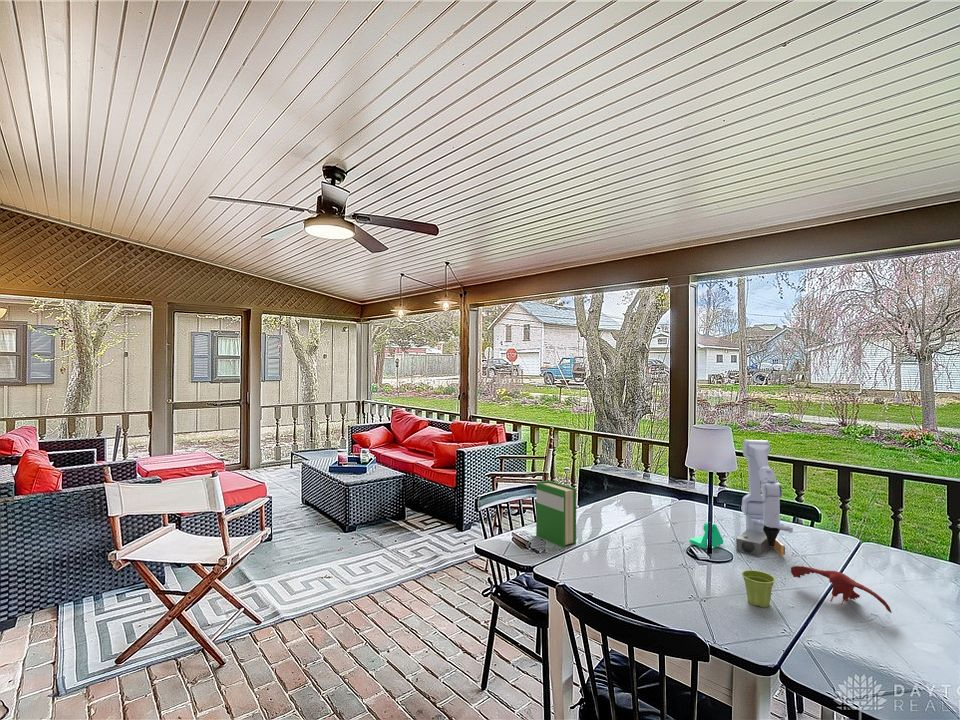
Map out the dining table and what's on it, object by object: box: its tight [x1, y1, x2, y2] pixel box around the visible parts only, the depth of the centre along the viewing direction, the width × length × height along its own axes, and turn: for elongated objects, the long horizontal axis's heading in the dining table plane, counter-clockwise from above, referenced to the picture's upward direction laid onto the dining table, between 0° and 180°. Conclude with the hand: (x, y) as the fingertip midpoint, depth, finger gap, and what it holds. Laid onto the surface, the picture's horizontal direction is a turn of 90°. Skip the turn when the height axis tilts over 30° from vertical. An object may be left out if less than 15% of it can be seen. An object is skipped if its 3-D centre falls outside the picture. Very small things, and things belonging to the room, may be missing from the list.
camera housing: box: [735, 529, 771, 557], centre depth 202 cm, size 17×9×6 cm, turn 135°
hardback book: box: [535, 479, 577, 549], centre depth 211 cm, size 18×7×24 cm, turn 34°
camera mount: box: [689, 521, 724, 549], centre depth 205 cm, size 12×8×10 cm, turn 115°
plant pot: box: [741, 569, 776, 608], centre depth 154 cm, size 9×9×9 cm
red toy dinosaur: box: [790, 565, 893, 614], centre depth 155 cm, size 28×9×15 cm
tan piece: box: [772, 538, 786, 558], centre depth 198 cm, size 13×2×4 cm, turn 165°
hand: (771, 545), depth 194 cm, fingers closed
